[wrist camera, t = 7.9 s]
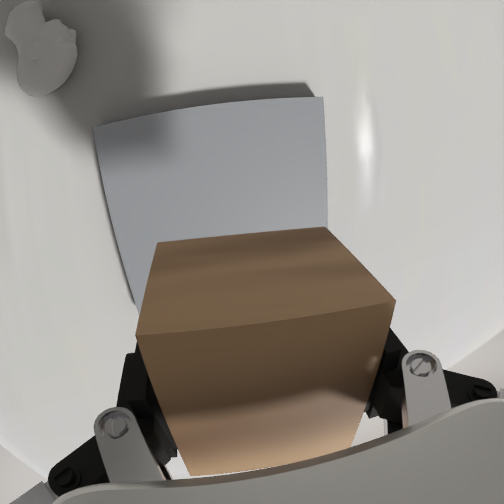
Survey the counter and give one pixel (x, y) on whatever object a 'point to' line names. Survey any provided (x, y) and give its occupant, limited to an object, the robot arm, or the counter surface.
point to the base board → (212, 174)
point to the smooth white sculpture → (40, 48)
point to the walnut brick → (261, 346)
